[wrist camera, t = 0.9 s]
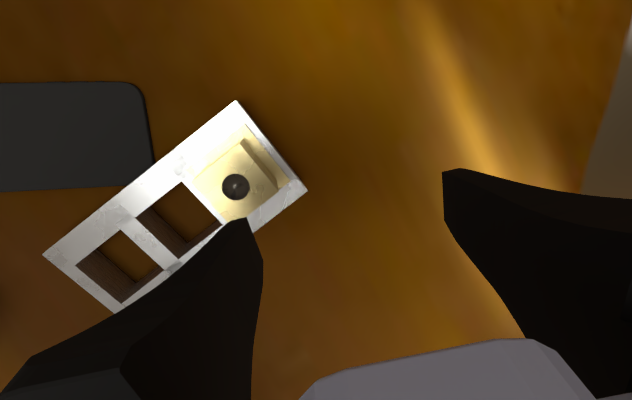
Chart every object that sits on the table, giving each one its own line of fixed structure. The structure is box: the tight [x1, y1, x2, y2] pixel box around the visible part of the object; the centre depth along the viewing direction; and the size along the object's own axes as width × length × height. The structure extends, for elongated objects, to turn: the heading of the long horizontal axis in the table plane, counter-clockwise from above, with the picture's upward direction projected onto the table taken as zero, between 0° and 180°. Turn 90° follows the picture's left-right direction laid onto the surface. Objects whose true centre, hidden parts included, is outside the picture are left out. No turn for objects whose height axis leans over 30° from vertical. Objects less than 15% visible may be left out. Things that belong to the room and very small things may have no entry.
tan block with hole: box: [186, 123, 290, 222], centre depth 22 cm, size 5×5×7 cm
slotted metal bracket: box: [42, 100, 307, 314], centre depth 24 cm, size 17×8×3 cm, turn 127°
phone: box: [0, 81, 155, 192], centre depth 23 cm, size 7×1×15 cm
